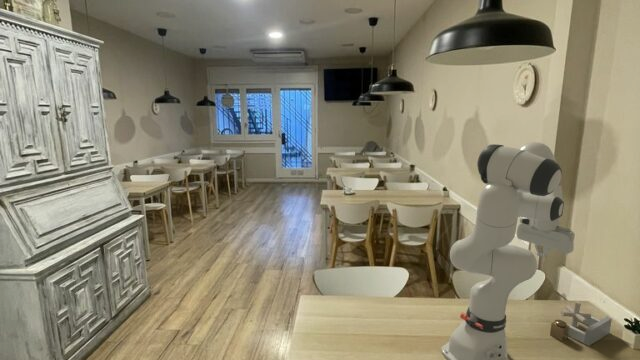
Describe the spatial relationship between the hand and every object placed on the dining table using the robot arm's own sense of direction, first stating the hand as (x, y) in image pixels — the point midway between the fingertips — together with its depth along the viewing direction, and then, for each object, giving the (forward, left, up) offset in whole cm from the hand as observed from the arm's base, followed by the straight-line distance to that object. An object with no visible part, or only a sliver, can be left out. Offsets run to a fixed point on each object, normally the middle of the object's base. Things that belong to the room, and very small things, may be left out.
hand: (541, 256), depth 137 cm
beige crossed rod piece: (+3, -13, -25) cm, 28 cm away
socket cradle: (+3, -15, -25) cm, 29 cm away
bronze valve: (-8, -13, -25) cm, 29 cm away
